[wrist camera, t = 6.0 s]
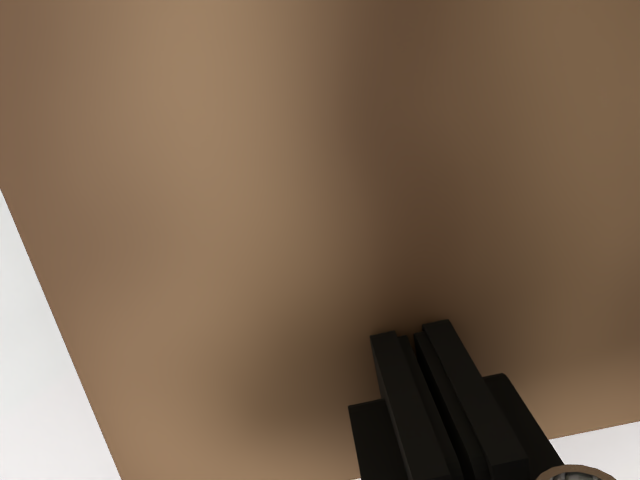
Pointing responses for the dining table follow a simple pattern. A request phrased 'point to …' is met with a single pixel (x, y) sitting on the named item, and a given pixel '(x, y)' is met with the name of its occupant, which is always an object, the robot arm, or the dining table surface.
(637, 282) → the walnut plank
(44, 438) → the dining table surface
